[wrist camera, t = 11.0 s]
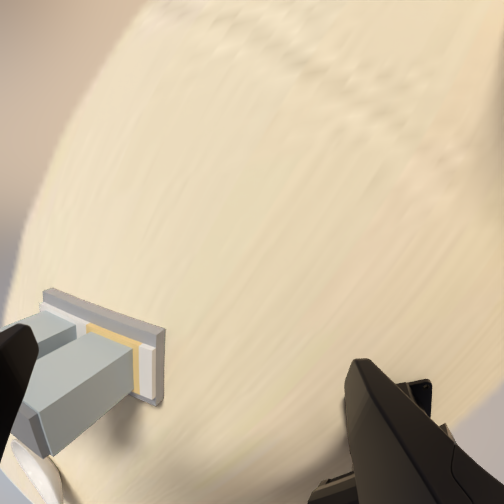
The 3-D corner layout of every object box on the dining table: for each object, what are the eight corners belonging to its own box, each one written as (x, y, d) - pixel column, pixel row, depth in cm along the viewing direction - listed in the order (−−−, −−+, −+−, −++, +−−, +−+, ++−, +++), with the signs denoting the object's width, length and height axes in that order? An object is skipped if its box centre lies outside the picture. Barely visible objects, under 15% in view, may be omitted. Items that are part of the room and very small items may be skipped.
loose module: (132, 348, 23) (30, 418, 12) (133, 388, 24) (46, 463, 13) (91, 331, 24) (-10, 384, 14) (94, 370, 25) (5, 429, 14)
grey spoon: (18, 440, 39) (-7, 457, 32) (29, 423, 35) (-1, 444, 28) (107, 531, 37) (88, 553, 30) (135, 529, 34) (114, 556, 27)
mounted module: (75, 324, 24) (-23, 371, 14) (79, 363, 25) (-9, 416, 15) (45, 310, 25) (-47, 346, 15) (49, 346, 26) (-34, 389, 16)
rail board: (165, 328, 24) (152, 338, 22) (163, 398, 26) (152, 409, 24) (52, 287, 27) (38, 292, 25) (57, 349, 29) (45, 355, 27)
